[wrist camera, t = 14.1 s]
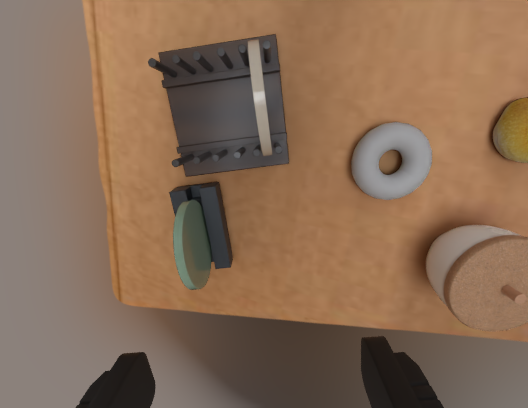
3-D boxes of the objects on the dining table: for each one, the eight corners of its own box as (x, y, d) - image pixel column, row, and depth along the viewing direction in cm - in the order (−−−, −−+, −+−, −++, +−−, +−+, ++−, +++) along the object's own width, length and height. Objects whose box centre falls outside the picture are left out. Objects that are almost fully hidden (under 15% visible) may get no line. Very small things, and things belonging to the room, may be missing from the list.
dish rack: (163, 55, 32) (132, 35, 25) (275, 37, 31) (277, 12, 24) (188, 174, 36) (169, 186, 29) (288, 161, 36) (293, 171, 28)
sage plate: (193, 189, 36) (163, 221, 26) (200, 188, 36) (173, 220, 26) (209, 258, 40) (188, 310, 29) (216, 257, 40) (197, 309, 29)
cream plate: (252, 57, 31) (243, 21, 20) (260, 55, 31) (256, 19, 20) (264, 151, 34) (262, 163, 23) (272, 150, 34) (273, 161, 23)
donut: (365, 112, 34) (336, 184, 36) (375, 110, 30) (343, 190, 33) (435, 135, 34) (402, 205, 37) (453, 136, 31) (415, 212, 34)
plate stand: (176, 186, 37) (169, 192, 34) (219, 181, 37) (215, 186, 34) (194, 261, 40) (188, 271, 38) (233, 257, 40) (230, 267, 37)
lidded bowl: (418, 210, 37) (478, 244, 27) (508, 213, 37) (602, 248, 26) (402, 286, 41) (448, 342, 30) (483, 289, 41) (558, 347, 30)
